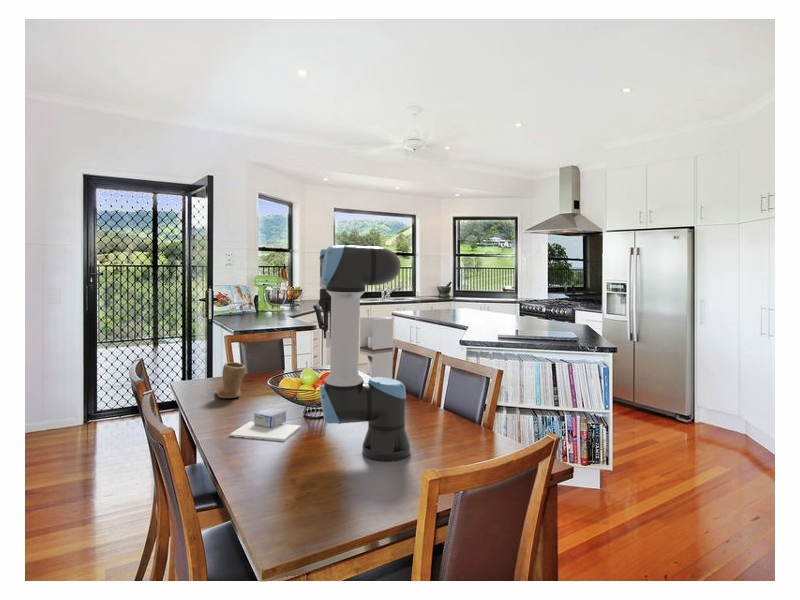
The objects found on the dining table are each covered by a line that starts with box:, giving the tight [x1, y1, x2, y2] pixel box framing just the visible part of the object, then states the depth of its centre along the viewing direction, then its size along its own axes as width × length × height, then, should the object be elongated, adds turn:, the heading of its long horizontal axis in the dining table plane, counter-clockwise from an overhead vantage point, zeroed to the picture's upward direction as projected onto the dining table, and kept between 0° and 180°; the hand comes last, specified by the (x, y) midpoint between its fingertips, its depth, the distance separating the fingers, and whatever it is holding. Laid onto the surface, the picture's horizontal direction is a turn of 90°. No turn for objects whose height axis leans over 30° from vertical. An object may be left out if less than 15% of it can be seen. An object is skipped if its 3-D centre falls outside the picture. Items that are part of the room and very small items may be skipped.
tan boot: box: [216, 361, 246, 399], centre depth 211 cm, size 15×12×15 cm
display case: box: [359, 315, 394, 379], centre depth 223 cm, size 11×11×35 cm
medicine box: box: [253, 407, 287, 428], centre depth 172 cm, size 8×4×9 cm
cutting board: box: [229, 421, 302, 442], centre depth 166 cm, size 14×20×1 cm
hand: (328, 346), depth 189 cm, fingers closed
